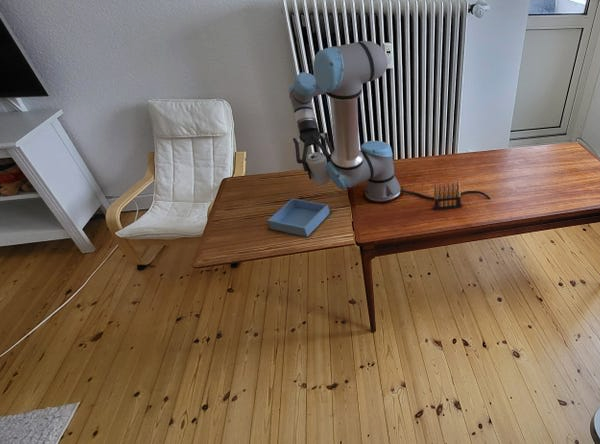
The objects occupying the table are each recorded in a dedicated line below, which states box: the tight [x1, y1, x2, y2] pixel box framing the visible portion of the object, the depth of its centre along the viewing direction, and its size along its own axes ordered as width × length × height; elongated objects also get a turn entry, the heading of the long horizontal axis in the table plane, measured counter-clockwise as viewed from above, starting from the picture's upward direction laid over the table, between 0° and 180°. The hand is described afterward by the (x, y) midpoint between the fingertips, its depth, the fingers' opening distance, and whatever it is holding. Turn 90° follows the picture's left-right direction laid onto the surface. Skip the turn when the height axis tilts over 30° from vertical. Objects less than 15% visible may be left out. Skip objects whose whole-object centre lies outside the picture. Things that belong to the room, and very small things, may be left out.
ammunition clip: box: [433, 181, 462, 211], centre depth 148 cm, size 11×2×12 cm, turn 98°
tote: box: [267, 197, 331, 238], centre depth 146 cm, size 17×16×4 cm
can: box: [306, 151, 332, 186], centre depth 151 cm, size 8×8×12 cm
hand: (321, 176), depth 149 cm, fingers closed on can, 7 cm apart
